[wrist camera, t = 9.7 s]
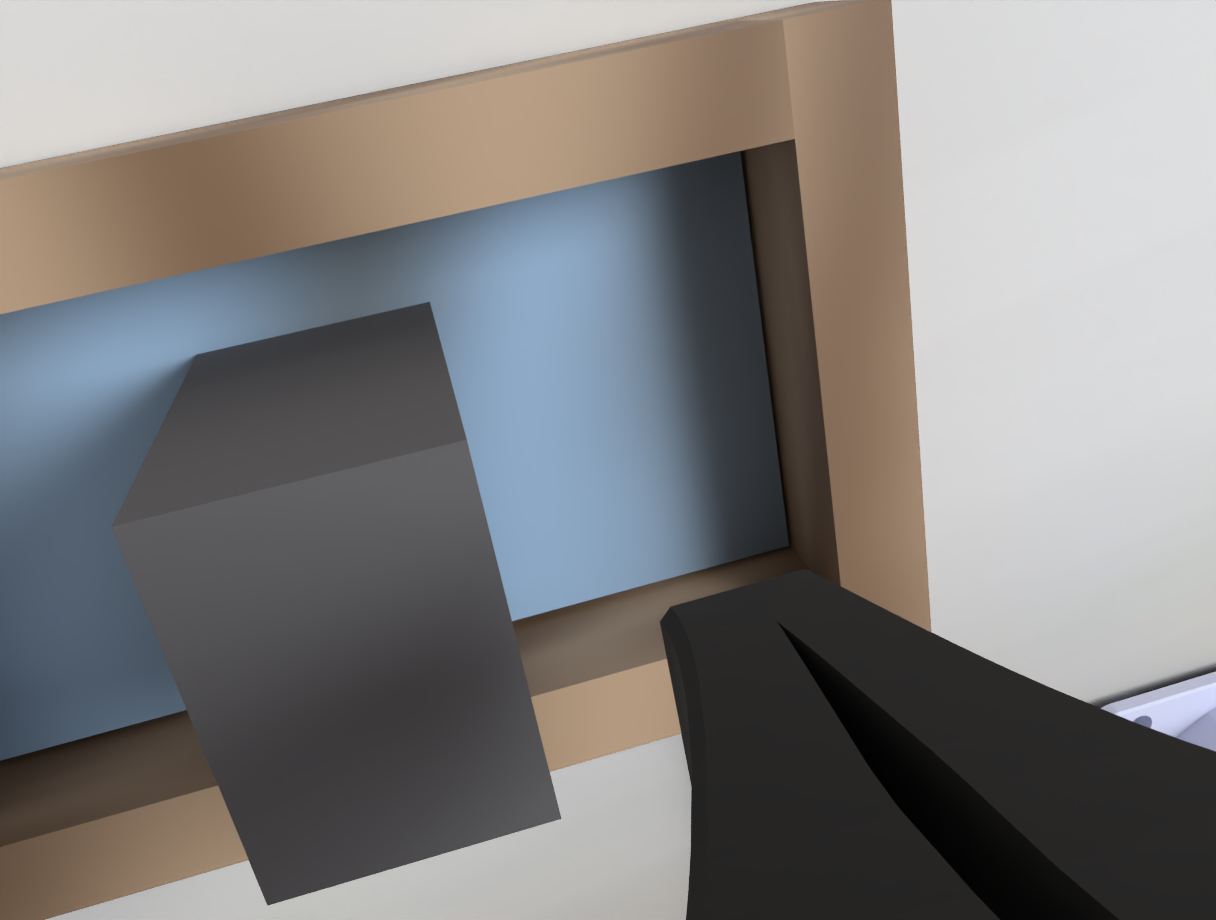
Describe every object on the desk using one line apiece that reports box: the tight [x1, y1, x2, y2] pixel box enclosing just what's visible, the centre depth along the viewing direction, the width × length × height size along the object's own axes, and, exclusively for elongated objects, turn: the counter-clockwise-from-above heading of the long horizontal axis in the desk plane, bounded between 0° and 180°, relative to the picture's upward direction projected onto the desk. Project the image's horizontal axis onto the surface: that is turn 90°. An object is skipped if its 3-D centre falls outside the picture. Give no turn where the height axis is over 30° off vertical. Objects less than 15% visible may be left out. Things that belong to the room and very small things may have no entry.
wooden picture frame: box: [0, 0, 931, 920], centre depth 18 cm, size 17×20×2 cm
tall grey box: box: [111, 302, 561, 905], centre depth 14 cm, size 4×5×6 cm
